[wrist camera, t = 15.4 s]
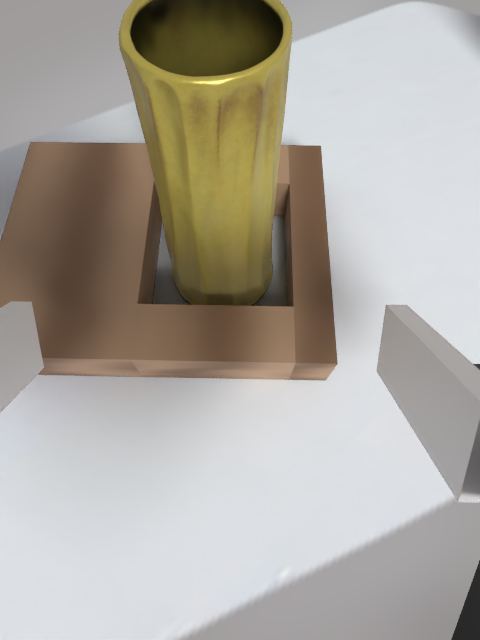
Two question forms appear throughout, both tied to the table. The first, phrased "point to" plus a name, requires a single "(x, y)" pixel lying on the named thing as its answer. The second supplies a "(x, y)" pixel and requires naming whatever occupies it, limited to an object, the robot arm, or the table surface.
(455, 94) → the table surface
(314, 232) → the frame
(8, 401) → the robot arm
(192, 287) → the vase
